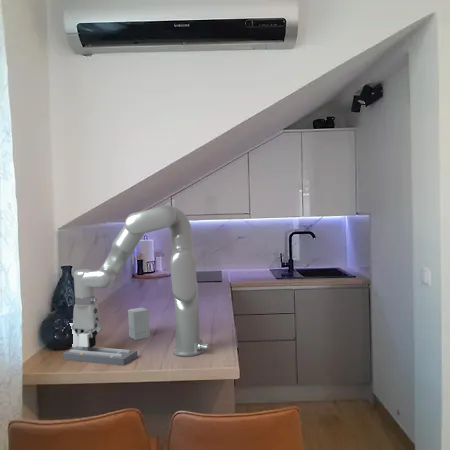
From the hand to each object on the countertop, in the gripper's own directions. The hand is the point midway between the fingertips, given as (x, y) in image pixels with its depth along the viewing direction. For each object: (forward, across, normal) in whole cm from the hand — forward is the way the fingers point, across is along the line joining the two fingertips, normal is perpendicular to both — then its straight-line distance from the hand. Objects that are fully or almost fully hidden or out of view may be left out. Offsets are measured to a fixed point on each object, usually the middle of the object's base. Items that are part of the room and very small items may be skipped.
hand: (87, 345), depth 190 cm
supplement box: (+5, -6, -30) cm, 31 cm away
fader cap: (+2, 0, 0) cm, 2 cm away
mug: (+5, +15, -12) cm, 20 cm away
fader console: (+5, -6, 0) cm, 7 cm away
